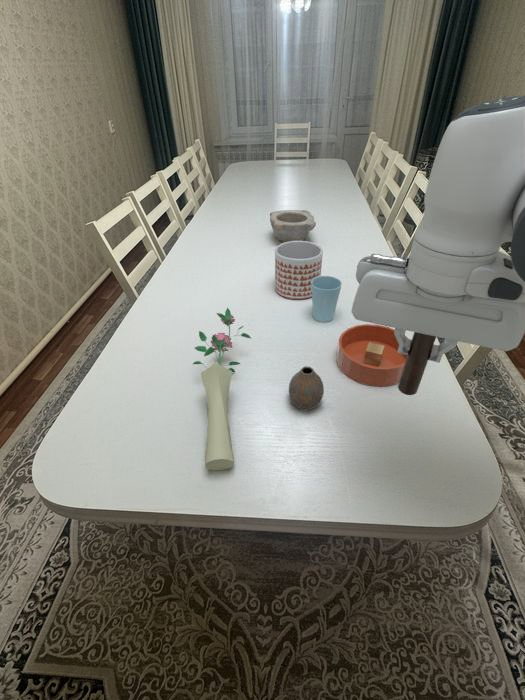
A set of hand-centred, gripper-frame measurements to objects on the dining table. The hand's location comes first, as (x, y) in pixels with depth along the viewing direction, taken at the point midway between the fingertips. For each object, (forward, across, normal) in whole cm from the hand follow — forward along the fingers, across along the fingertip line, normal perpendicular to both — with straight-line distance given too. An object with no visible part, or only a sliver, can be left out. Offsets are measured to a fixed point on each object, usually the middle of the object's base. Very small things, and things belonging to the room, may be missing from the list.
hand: (418, 355), depth 51 cm
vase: (+22, -17, +5) cm, 28 cm away
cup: (+22, -23, +37) cm, 49 cm away
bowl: (+21, -7, +23) cm, 32 cm away
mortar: (+22, -50, +86) cm, 102 cm away
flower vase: (+22, -33, -1) cm, 40 cm away
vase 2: (+22, -35, +49) cm, 64 cm away
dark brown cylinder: (+7, 0, 0) cm, 7 cm away
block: (+21, -7, +23) cm, 32 cm away
